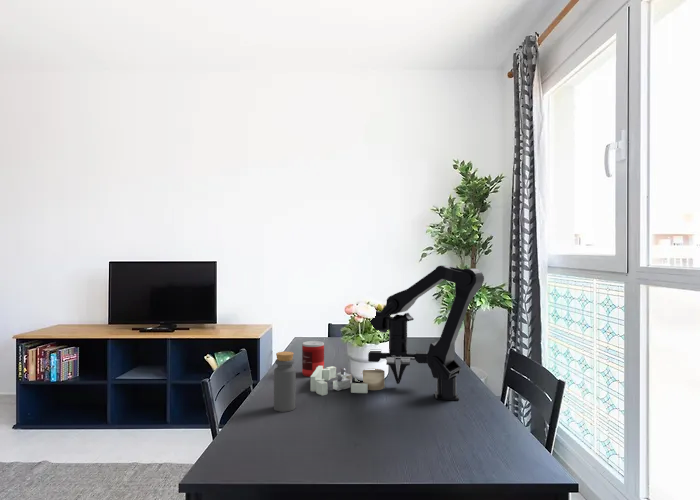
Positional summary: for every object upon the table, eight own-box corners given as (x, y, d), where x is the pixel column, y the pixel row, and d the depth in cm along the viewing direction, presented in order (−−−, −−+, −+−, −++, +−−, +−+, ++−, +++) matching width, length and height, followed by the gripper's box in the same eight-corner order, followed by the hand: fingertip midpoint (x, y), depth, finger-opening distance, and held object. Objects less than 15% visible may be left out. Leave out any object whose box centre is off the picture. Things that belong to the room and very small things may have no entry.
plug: (384, 390, 138) (384, 374, 138) (361, 390, 138) (361, 373, 138) (384, 384, 145) (384, 368, 145) (363, 383, 145) (363, 368, 145)
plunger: (352, 382, 145) (352, 370, 145) (346, 383, 144) (346, 371, 144) (342, 379, 149) (342, 367, 149) (336, 380, 148) (336, 368, 148)
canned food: (325, 371, 160) (325, 341, 161) (322, 377, 152) (322, 345, 153) (304, 371, 161) (304, 340, 161) (300, 376, 153) (300, 344, 153)
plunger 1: (345, 385, 141) (345, 372, 141) (350, 387, 139) (350, 374, 140) (332, 388, 138) (332, 375, 138) (337, 390, 136) (337, 377, 136)
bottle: (291, 412, 118) (291, 355, 118) (270, 411, 119) (270, 354, 119) (298, 405, 123) (298, 351, 124) (278, 404, 125) (278, 350, 125)
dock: (366, 397, 131) (366, 381, 131) (308, 395, 133) (308, 379, 133) (370, 377, 152) (370, 364, 153) (320, 375, 154) (320, 362, 154)
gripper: (426, 330, 148) (426, 377, 148) (370, 329, 150) (370, 375, 150) (428, 336, 137) (428, 387, 137) (368, 335, 139) (368, 385, 139)
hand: (398, 383), depth 141 cm, fingers closed
